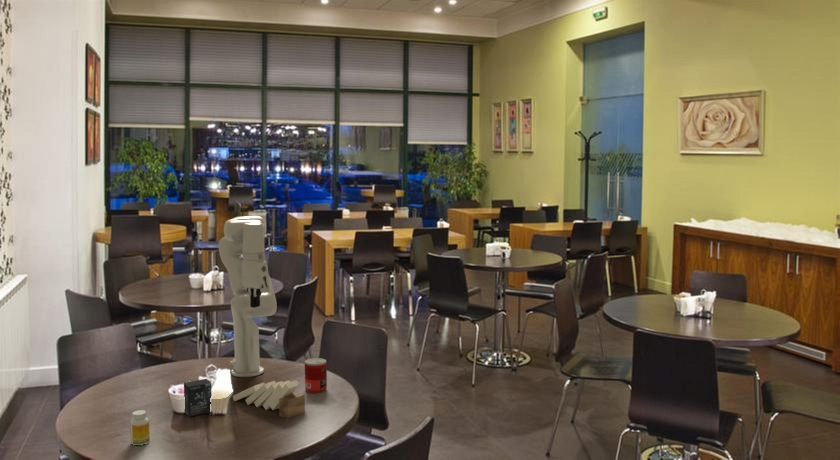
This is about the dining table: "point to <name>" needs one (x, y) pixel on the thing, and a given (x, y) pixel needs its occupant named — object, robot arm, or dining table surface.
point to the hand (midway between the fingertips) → (255, 306)
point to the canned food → (315, 375)
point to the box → (197, 397)
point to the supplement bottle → (139, 428)
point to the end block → (291, 405)
